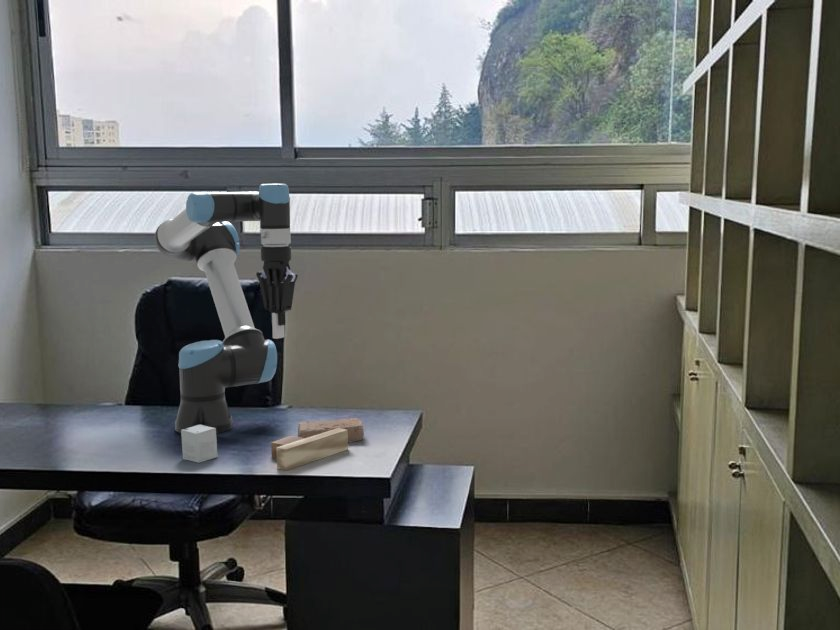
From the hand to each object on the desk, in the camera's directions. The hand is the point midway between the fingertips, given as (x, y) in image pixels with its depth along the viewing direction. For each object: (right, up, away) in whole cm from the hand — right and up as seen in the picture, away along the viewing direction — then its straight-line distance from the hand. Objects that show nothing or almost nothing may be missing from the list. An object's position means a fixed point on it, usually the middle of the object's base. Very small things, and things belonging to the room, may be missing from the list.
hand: (278, 337), depth 227 cm
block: (+5, -29, -12) cm, 32 cm away
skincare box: (-17, -29, -13) cm, 36 cm away
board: (+11, -29, -14) cm, 34 cm away
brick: (+13, -27, +2) cm, 30 cm away
